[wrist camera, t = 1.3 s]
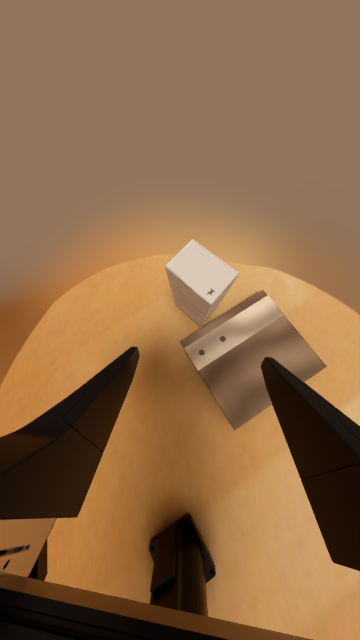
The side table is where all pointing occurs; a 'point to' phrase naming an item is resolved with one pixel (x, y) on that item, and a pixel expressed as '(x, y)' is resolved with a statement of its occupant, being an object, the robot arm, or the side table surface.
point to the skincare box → (198, 280)
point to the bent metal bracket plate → (248, 355)
